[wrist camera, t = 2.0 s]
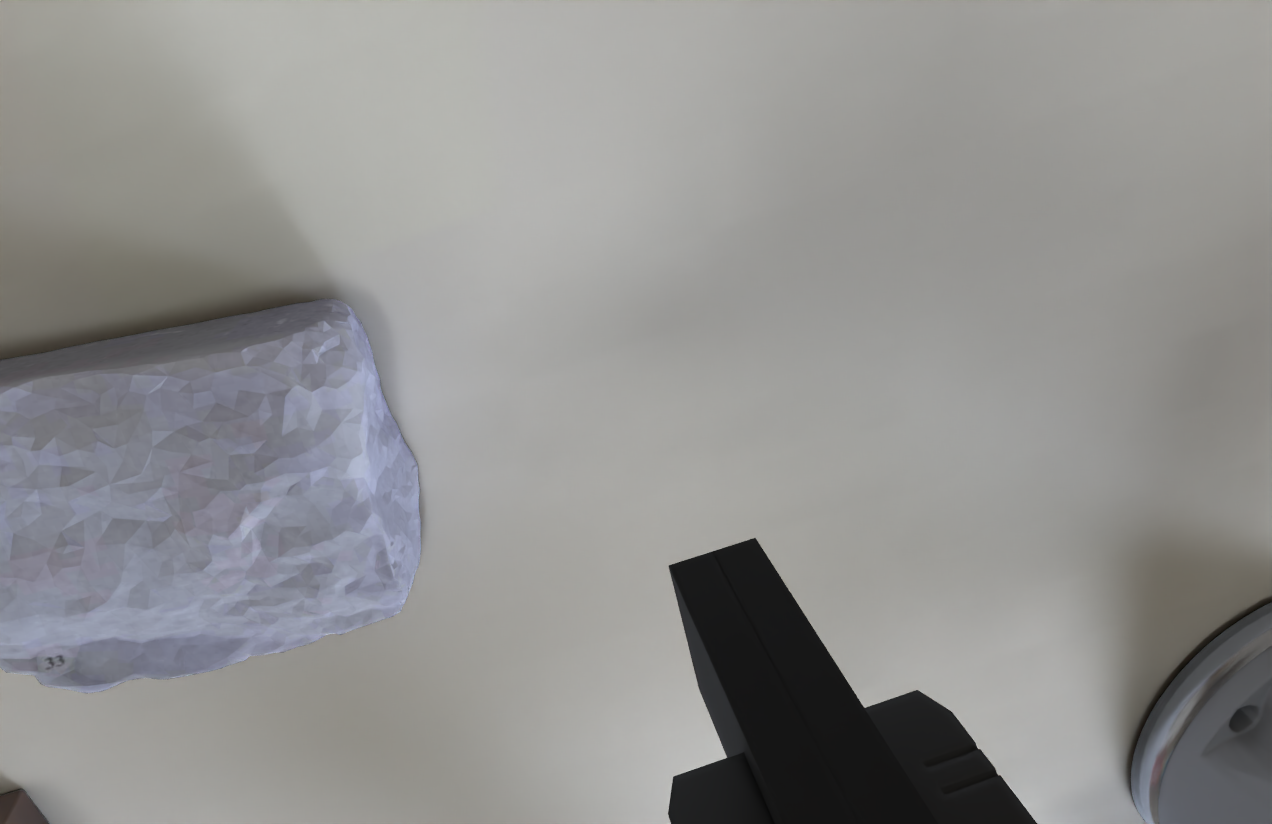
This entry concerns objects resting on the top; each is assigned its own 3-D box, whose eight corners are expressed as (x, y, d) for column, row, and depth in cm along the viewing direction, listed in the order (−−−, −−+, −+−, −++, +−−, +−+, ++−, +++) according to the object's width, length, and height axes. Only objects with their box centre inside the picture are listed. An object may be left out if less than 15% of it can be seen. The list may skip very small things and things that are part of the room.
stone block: (446, 526, 29) (354, 256, 23) (450, 638, 25) (341, 349, 19) (78, 608, 28) (-120, 346, 22) (23, 739, 24) (-235, 465, 18)
